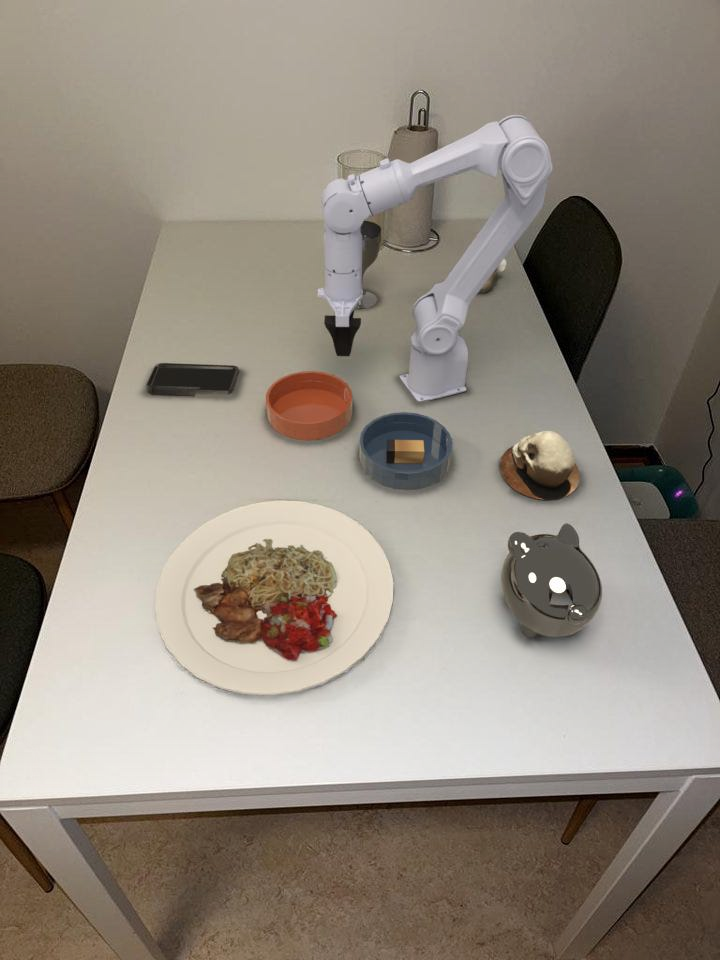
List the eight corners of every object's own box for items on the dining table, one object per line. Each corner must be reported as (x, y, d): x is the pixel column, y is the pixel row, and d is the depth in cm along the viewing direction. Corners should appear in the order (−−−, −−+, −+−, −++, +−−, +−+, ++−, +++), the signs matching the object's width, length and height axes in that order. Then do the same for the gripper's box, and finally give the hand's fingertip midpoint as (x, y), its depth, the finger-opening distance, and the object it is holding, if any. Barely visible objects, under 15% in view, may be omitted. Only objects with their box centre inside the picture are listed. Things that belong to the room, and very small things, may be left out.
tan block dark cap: (422, 452, 107) (423, 439, 106) (423, 464, 106) (424, 451, 104) (386, 451, 107) (387, 439, 106) (386, 463, 106) (387, 450, 104)
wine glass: (386, 296, 143) (389, 226, 132) (366, 313, 138) (367, 242, 128) (354, 286, 146) (354, 217, 135) (333, 302, 141) (331, 231, 131)
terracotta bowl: (334, 382, 121) (334, 363, 119) (364, 430, 112) (365, 411, 109) (257, 400, 118) (255, 381, 115) (282, 451, 108) (280, 432, 105)
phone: (156, 362, 123) (239, 365, 123) (157, 367, 124) (240, 370, 123) (144, 389, 118) (231, 392, 117) (145, 394, 118) (232, 397, 118)
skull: (479, 453, 107) (526, 403, 103) (516, 474, 113) (560, 428, 110) (520, 503, 98) (572, 451, 95) (557, 522, 105) (606, 474, 102)
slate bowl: (425, 423, 114) (427, 404, 111) (465, 478, 104) (469, 458, 101) (346, 444, 110) (346, 424, 107) (381, 502, 100) (382, 483, 98)
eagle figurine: (468, 264, 151) (453, 274, 144) (490, 240, 146) (476, 249, 140) (492, 290, 151) (477, 301, 144) (515, 267, 146) (501, 277, 140)
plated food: (254, 482, 103) (251, 465, 101) (433, 563, 92) (435, 547, 90) (106, 627, 85) (99, 611, 82) (308, 750, 74) (306, 736, 72)
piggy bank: (555, 559, 93) (575, 500, 85) (608, 654, 83) (635, 597, 75) (477, 573, 91) (489, 514, 83) (520, 672, 81) (539, 616, 73)
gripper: (319, 243, 109) (321, 318, 119) (314, 288, 99) (317, 366, 109) (363, 243, 109) (362, 318, 119) (363, 289, 99) (362, 367, 109)
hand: (343, 341), depth 114 cm, fingers open, 7 cm apart
